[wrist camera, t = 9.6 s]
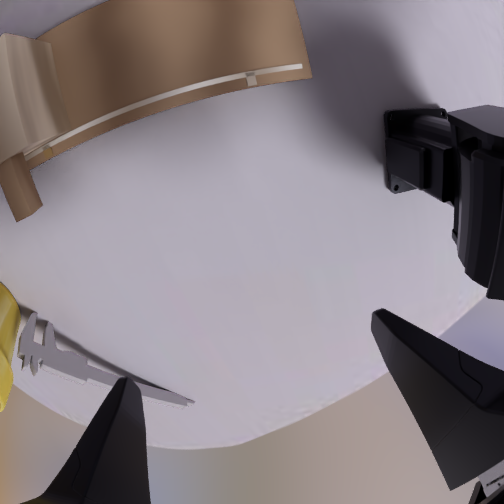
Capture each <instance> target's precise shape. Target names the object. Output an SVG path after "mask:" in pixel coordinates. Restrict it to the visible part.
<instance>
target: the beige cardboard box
mask: <svg viewBox="0 0 504 504" xmlns="http://www.w3.org/2000/svg"><path fill="white" fill-rule="evenodd" d="M70 130H72V128H71V125H70V122H69V118H68V115H67V111H66V108H65V104H64V100H63V97H62V93H61V89H60V85H59V80H58V76H57V72H56V67H55V62H54V57H53V52H52V47H51V43H48V42H44V41H40V40H36V39H32V38H27V37H23V36H18V35H14V34H9V33H4V34H3V35H2V36H0V184H1V187H2V189H3V192H4V194H5V197H6V199H7V202H8V204H9V206H10V209H11V211H12V213H13V216H14V218H15V220H16V222H19V221H20V220H22V219H24V218H26V217H28V216H30V215H32V214H33V213H34V212H36V211H37V210H38V209H39V208H40V207H41V206H42V205H43V204H42V202H41V199H40V197H39V194H38V192H37V189H36V187H35V184H34V182H33V179H32V177H31V174H30V171H29V168H28V166H27V163H26V160H25V157H24V156H25V155H27V154H29V153H30V152H32V151H34V150H35V149H37V148H39V147H40V146H42V145H44V144H46V143H47V142H49V141H51V140H53V139H55V138H57V137H58V136H60V135H62V134H64V133H66V132H68V131H70Z"/></svg>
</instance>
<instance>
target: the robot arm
mask: <svg viewBox="0 0 504 504" xmlns="http://www.w3.org/2000/svg"><path fill="white" fill-rule="evenodd" d="M441 112H442V116H441ZM390 115H392V119H391V120H390ZM447 117H448V120H447ZM384 123H385V133H386V140H385V142H386V157H387V171H388V186H389V190H390V191H391V192H392V193H394V194H397V193H401V192H405V191H410V190H414V189H419V190H423V191H424V192H426V193H428V194H430V195H431V196H433V197H435V198H437V199H438V200H440V201H442V202H444V203H445V202H446V203H448V204H449V205H451V206H453V207H454V229H452V238H453V240H454V241H455V243H456V245H457V251H458V257H459V259H460V260H461V262H462V264H463V266H464V267H465V273H466V274H467V275H468V276H469V277H470V278H471V279H472V280H473V281H475V282H477V283H478V284H480V285H482V286H483V287H486V288H488V290H487V293H486V297H487V298H489V299H498V300H504V108H503V107H497V106H491V105H484V106H478V107H472V108H467V109H462V110H457V111H452V112H448V113H447V112H446V110H445V109H443V108H415V109H397V110H388V111H386V112H385V114H384ZM395 185H396V188H395V189H394V186H395ZM371 331H372V334H373V336H374V338H375V341H376V343H377V345H378V347H379V350H380V352H381V355H382V357H383V359H384V362H385V364H386V366H387V368H388V370H389V372H390V373H391V375H392V377H393V379H394V381H395V382H396V384H397V386H398V388H399V390H400V391H401V393H402V395H403V397H404V399H405V400H406V402H407V404H408V406H409V408H410V410H411V412H412V414H413V415H414V417H415V419H416V421H417V423H418V425H419V427H420V429H421V431H422V433H423V435H424V437H425V439H426V441H427V443H428V445H429V447H430V449H431V450H432V453H433V455H434V457H435V459H436V461H437V463H438V466H439V468H440V470H441V472H442V474H443V476H444V478H445V481H446V483H447V485H448V487H449V489H450V491H451V490H453V489H455V488H457V487H459V486H461V485H463V484H465V483H467V482H468V481H470V480H472V479H474V478H476V477H477V476H478V478H479V480H480V481H478V482H477V483H476V485H475V488H474V491H473V493H472V496H471V499H470V501H469V504H504V371H502V370H500V369H498V368H495V367H493V366H490V365H488V364H486V363H484V362H482V361H479V360H477V359H475V358H473V357H472V356H469V355H468V354H466V353H464V352H462V351H460V350H459V351H458V349H457V348H455V347H453V346H451V345H450V344H448V343H446V342H444V341H442V340H441V339H439V338H437V337H435V336H433V335H432V334H430V333H428V332H426V331H424V330H423V329H421V328H419V327H417V326H415V325H413V324H412V323H410V322H408V321H406V320H404V319H402V318H401V317H399V316H397V315H395V314H393V313H391V312H390V311H388V310H386V309H383V308H381V309H378V310H376V311H374V312H373V313H372V321H371ZM147 467H148V466H147V449H146V427H145V419H144V411H143V403H142V394H141V390H140V388H139V387H138V386H137V385H136V383H135V382H134V381H133V380H132V379H131V378H130V377H128V376H126V377H120V378H119V379H118V380H117V381H116V383H115V384H114V386H113V387H112V389H111V391H110V392H109V394H108V395H107V397H106V398H105V400H104V401H103V403H102V405H101V406H100V408H99V409H98V411H97V413H96V414H95V416H94V417H93V419H92V421H91V422H90V424H89V425H88V427H87V429H86V431H85V432H84V434H83V435H82V437H81V439H80V440H79V442H78V444H77V445H76V448H75V449H74V450H73V452H72V454H71V455H70V457H69V459H68V460H67V462H66V463H65V465H64V466H63V467H62V469H61V470H60V472H59V473H58V475H57V476H56V477H55V479H54V480H53V481H52V483H51V484H50V486H49V487H48V488H47V490H46V491H45V492H44V493H43V494H42V495H41V496H39V497H37V498H35V499H32V500H29V501H27V502H24V503H20V504H151V501H150V492H149V480H148V468H147Z"/></svg>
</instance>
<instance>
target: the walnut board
mask: <svg viewBox="0 0 504 504" xmlns="http://www.w3.org/2000/svg"><path fill="white" fill-rule="evenodd" d="M36 40H40V41H44V42H48V43H51V47H52V52H53V57H54V62H55V67H56V72H57V76H58V80H59V85H60V89H61V93H62V97H63V100H64V104H65V108H66V111H67V115H68V118H69V122H70V125H71V128H72V130H70V131H68V132H66V133H64V134H62V135H60V136H58V137H57V138H55V139H53V140H51V141H49V142H47V143H46V144H44V145H42V146H40V147H39V148H37V149H35V150H34V151H32V152H30V153H29V154H27V155H25V156H24V157H25V160H26V163H27V166H28V168H29V170H31V169H33V168H34V167H36V166H38V165H40V164H42V163H43V162H45V161H47V160H49V159H51V158H53V157H55V156H56V155H58V154H60V153H62V152H64V151H66V150H68V149H70V148H72V147H74V146H76V145H79V144H81V143H83V142H85V141H87V140H89V139H92V138H94V137H96V136H98V135H101V134H103V133H105V132H108V131H110V130H113V129H115V128H117V127H120V126H122V125H125V124H128V123H130V122H133V121H136V120H138V119H141V118H144V117H147V116H149V115H152V114H155V113H158V112H161V111H164V110H167V109H170V108H174V107H177V106H180V105H183V104H187V103H190V102H194V101H197V100H201V99H205V98H209V97H213V96H217V95H221V94H225V93H229V92H234V91H238V90H243V89H248V88H253V87H258V86H263V85H269V84H275V83H281V82H287V81H294V80H302V79H309V78H312V73H311V68H310V64H309V59H308V55H307V50H306V46H305V42H304V37H303V33H302V29H301V25H300V21H299V18H298V14H297V10H296V7H295V3H294V0H109V1H106V2H104V3H102V4H100V5H97V6H95V7H93V8H91V9H89V10H87V11H84V12H82V13H80V14H78V15H76V16H75V17H73V18H71V19H69V20H67V21H65V22H63V23H61V24H60V25H58V26H56V27H54V28H53V29H51V30H49V31H48V32H46V33H44V34H43V35H41V36H40V37H38V38H36Z"/></svg>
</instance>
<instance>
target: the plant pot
mask: <svg viewBox="0 0 504 504" xmlns="http://www.w3.org/2000/svg"><path fill="white" fill-rule="evenodd" d="M20 321H21V314H20V310H19V307H18V304H17V302H16V300H15V299H14V297H13V295H12V294H11V293H10V292H9V290H8V289H7V288H6V287H5V286H4V285H3V284H2V283H0V412H1V411H3V410H4V408H5V405H6V402H7V399H8V396H9V393H10V390H11V387H12V383H13V372H12V369H11V361H12V356H13V351H14V346H15V341H16V337H17V333H18V329H19V325H20Z"/></svg>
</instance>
